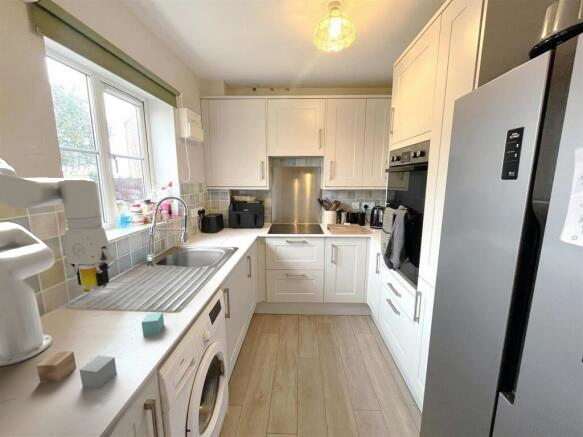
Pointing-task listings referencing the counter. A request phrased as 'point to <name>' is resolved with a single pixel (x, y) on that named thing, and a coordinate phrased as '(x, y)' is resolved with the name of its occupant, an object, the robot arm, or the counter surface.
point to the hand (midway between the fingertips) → (94, 283)
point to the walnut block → (56, 366)
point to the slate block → (98, 372)
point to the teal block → (152, 323)
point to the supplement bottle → (89, 278)
